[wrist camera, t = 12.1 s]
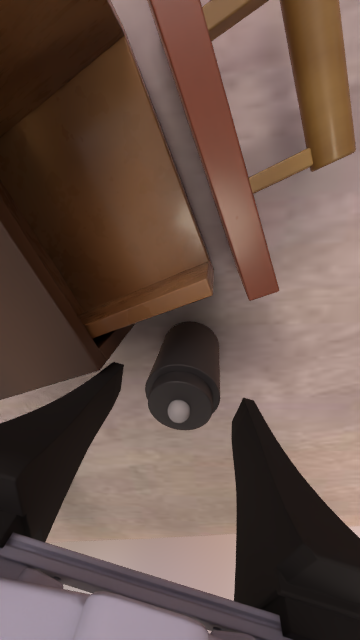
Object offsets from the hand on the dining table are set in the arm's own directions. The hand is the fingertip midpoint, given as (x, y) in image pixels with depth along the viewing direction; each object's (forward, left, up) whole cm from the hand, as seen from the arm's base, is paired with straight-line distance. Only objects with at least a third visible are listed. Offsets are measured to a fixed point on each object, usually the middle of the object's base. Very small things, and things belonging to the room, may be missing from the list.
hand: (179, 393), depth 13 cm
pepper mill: (0, 0, -5) cm, 5 cm away
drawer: (-11, +2, -4) cm, 12 cm away
